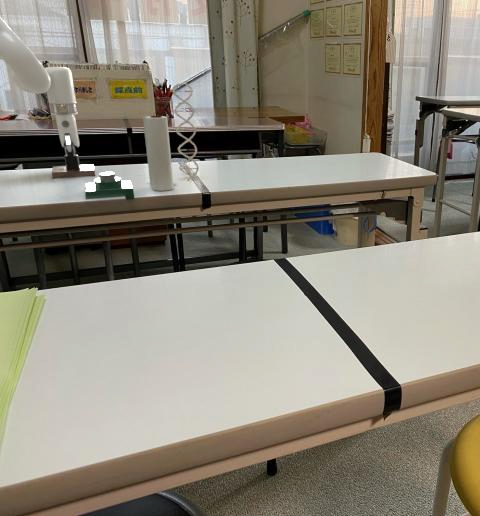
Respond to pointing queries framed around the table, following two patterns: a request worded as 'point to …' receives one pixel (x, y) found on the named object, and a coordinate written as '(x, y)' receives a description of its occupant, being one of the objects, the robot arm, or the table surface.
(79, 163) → the dial
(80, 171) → the warmer panel
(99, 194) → the green stepped block
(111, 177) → the button
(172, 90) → the dna model
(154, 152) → the paper towel roll
